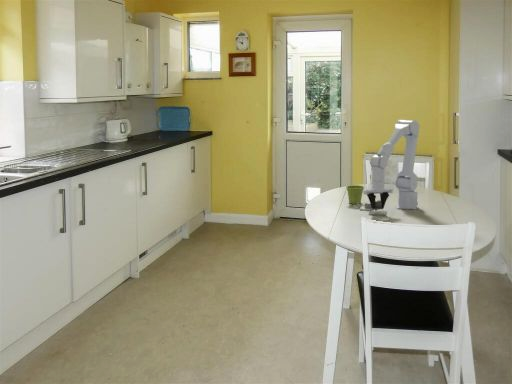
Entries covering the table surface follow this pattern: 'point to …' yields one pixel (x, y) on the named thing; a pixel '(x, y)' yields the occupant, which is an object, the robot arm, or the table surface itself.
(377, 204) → the dark grey rounded piece
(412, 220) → the table surface
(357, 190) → the plant pot
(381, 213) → the coaster
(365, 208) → the grey square holder
